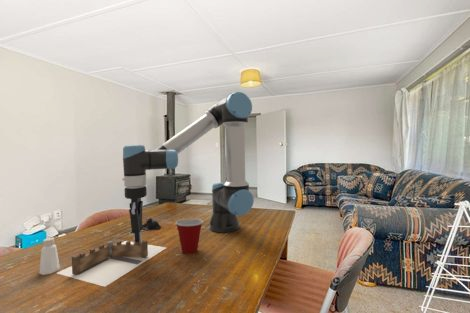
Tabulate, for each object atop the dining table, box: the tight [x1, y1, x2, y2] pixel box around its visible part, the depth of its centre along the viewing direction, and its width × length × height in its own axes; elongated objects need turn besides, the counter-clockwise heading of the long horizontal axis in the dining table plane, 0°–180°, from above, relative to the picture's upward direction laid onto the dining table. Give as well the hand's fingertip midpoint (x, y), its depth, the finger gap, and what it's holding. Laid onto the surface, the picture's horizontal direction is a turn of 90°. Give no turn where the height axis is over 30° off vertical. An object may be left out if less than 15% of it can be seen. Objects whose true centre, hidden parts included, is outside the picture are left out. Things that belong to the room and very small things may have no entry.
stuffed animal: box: [141, 217, 162, 233], centre depth 116 cm, size 12×10×12 cm
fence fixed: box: [71, 244, 109, 275], centre depth 78 cm, size 12×2×6 cm, turn 159°
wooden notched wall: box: [106, 240, 149, 258], centre depth 84 cm, size 15×2×6 cm, turn 86°
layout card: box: [56, 240, 167, 288], centre depth 83 cm, size 22×28×1 cm
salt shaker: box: [39, 237, 61, 276], centre depth 76 cm, size 5×5×11 cm
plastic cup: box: [175, 218, 204, 255], centre depth 90 cm, size 11×11×12 cm
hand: (138, 248), depth 86 cm, fingers closed
